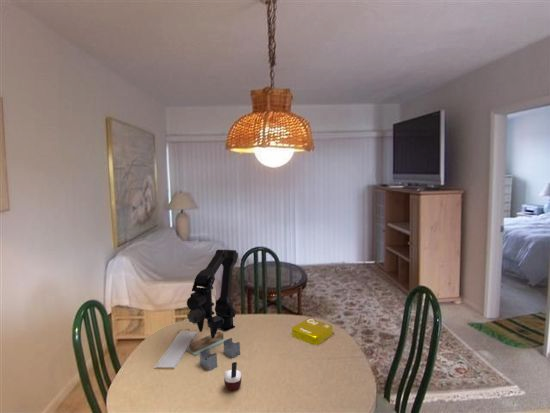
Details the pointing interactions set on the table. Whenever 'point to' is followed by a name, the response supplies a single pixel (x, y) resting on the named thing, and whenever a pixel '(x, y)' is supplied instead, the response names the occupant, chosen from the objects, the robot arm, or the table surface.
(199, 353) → the mat
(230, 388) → the cupcake
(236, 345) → the grey block
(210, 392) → the table surface
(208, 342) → the rail
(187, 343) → the baseboard
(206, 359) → the grey notched block
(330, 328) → the element tile
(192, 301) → the robot arm
